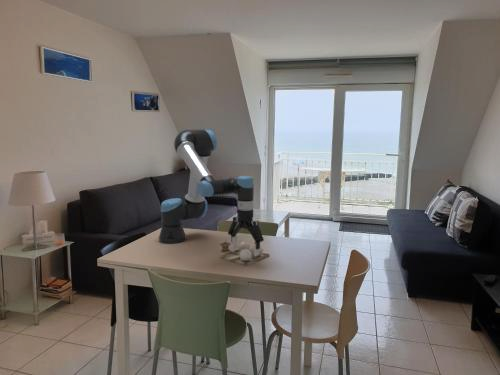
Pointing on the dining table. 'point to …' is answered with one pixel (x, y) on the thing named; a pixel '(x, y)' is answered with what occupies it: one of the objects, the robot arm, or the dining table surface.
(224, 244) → the stand
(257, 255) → the cream white ball
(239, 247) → the pale beige ball
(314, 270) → the dining table surface
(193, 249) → the dining table surface
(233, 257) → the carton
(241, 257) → the white ball
